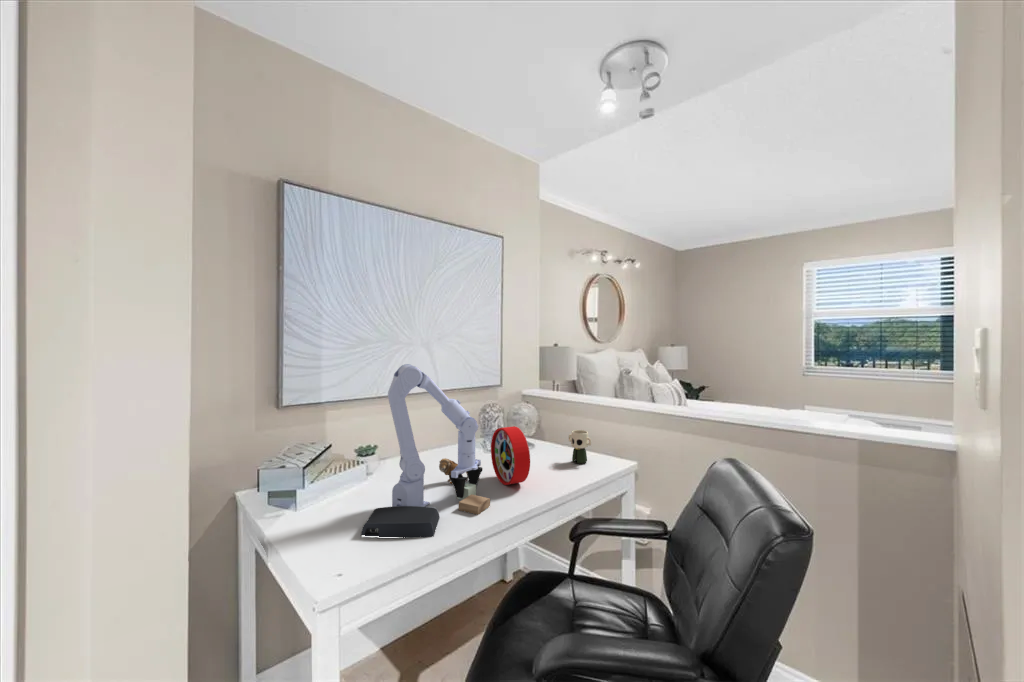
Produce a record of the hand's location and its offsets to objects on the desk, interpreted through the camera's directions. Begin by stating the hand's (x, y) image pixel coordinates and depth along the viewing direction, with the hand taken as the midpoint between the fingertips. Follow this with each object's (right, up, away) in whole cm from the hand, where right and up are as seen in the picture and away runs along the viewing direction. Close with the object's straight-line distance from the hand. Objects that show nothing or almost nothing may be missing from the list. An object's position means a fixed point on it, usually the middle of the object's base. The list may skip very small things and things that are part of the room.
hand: (466, 493), depth 136 cm
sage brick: (0, -2, 0) cm, 2 cm away
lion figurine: (-5, -1, +14) cm, 15 cm away
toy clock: (+14, -2, +14) cm, 20 cm away
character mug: (+44, -1, +38) cm, 58 cm away
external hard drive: (-16, -2, -21) cm, 26 cm away
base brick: (+3, -2, -9) cm, 9 cm away
